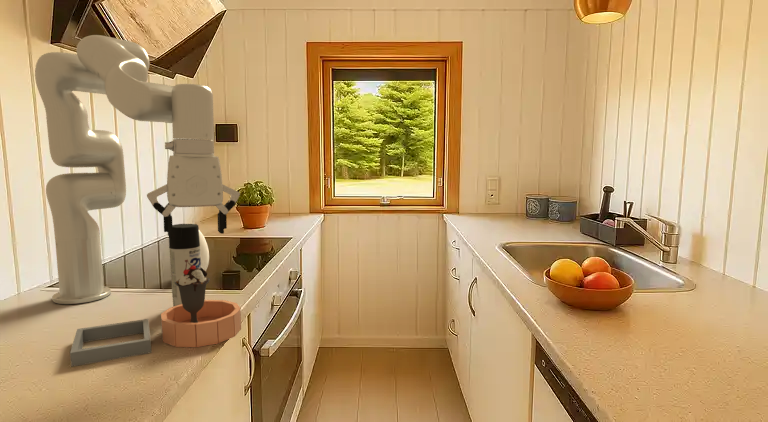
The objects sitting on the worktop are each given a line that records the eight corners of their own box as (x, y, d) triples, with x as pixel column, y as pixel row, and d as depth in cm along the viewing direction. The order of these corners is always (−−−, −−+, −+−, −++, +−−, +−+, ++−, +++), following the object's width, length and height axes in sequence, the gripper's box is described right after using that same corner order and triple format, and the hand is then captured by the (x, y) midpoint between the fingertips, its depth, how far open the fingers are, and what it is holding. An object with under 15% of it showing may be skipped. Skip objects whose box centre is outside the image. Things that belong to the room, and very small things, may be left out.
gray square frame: (78, 341, 93) (77, 329, 92) (148, 330, 99) (148, 318, 98) (71, 366, 82) (70, 352, 81) (151, 352, 88) (150, 339, 87)
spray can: (192, 313, 109) (188, 228, 106) (166, 311, 110) (161, 226, 108) (208, 304, 115) (205, 223, 113) (183, 302, 117) (179, 222, 114)
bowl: (160, 326, 101) (159, 306, 100) (232, 315, 108) (232, 296, 107) (165, 352, 88) (163, 329, 87) (246, 338, 95) (246, 316, 94)
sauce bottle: (184, 274, 143) (181, 216, 140) (211, 273, 144) (209, 215, 142) (179, 281, 135) (176, 219, 133) (208, 280, 137) (205, 219, 135)
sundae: (178, 337, 92) (174, 262, 90) (175, 326, 98) (172, 255, 96) (213, 331, 95) (210, 259, 94) (209, 321, 101) (206, 252, 99)
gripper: (145, 148, 86) (149, 240, 88) (242, 150, 94) (243, 234, 96) (144, 147, 92) (147, 233, 95) (235, 149, 100) (236, 228, 103)
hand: (196, 233), depth 95 cm, fingers open, 9 cm apart
